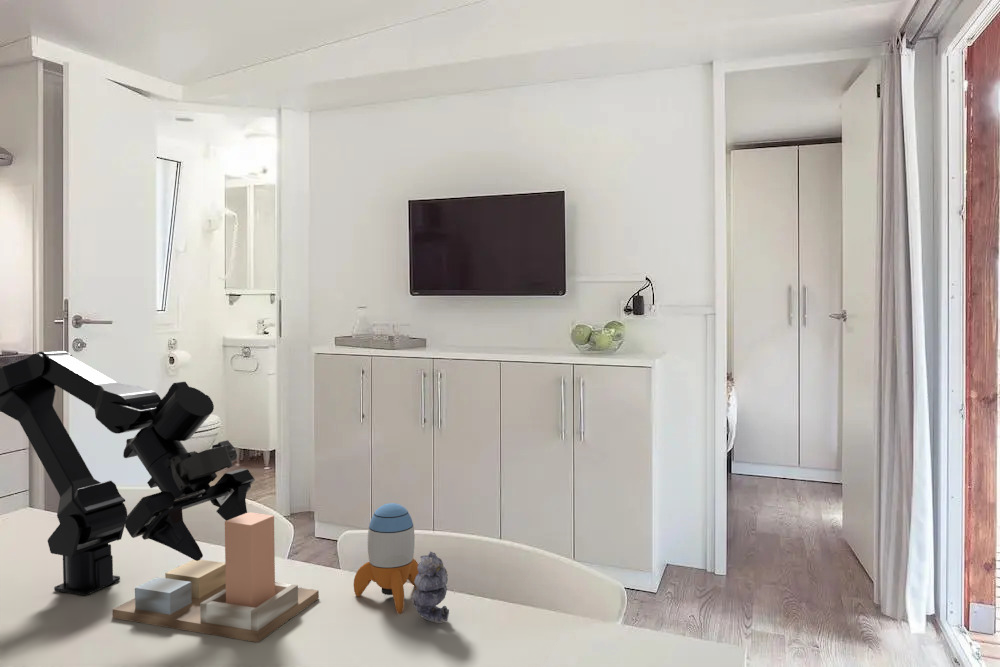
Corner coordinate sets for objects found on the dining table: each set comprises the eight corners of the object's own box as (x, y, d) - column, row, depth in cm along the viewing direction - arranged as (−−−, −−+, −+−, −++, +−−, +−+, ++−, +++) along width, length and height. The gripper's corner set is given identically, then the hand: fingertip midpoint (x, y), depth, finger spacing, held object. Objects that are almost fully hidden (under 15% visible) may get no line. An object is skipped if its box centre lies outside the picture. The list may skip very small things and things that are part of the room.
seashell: (455, 617, 94) (455, 546, 94) (440, 635, 89) (439, 560, 89) (421, 612, 96) (420, 542, 96) (403, 629, 91) (403, 555, 90)
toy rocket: (416, 621, 95) (392, 522, 93) (346, 627, 97) (321, 530, 95) (435, 582, 105) (414, 491, 103) (371, 588, 107) (350, 500, 105)
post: (226, 615, 92) (224, 521, 92) (249, 602, 96) (248, 512, 96) (252, 621, 90) (250, 525, 90) (275, 607, 95) (274, 515, 94)
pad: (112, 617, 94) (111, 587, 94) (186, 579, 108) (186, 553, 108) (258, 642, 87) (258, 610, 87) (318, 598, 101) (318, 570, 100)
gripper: (140, 437, 87) (204, 533, 84) (245, 416, 105) (302, 495, 101) (97, 490, 91) (158, 585, 87) (206, 461, 108) (261, 539, 104)
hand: (226, 547), depth 95 cm, fingers open, 9 cm apart
